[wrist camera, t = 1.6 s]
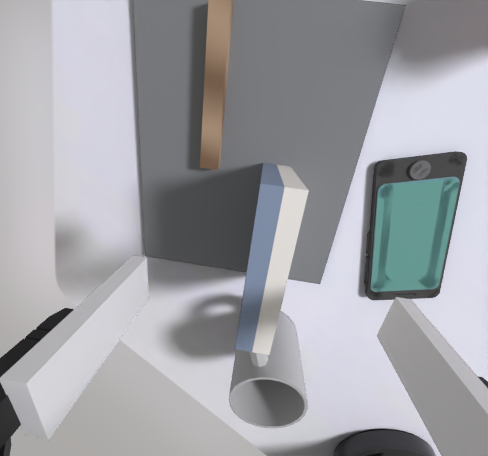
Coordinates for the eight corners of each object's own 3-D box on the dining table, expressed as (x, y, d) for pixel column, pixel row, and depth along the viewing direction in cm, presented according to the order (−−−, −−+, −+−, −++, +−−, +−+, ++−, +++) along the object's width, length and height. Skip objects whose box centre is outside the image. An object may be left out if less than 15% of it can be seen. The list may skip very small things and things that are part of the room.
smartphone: (470, 151, 19) (439, 298, 24) (459, 150, 20) (432, 291, 25) (376, 162, 20) (366, 301, 25) (370, 161, 21) (362, 294, 26)
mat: (318, 281, 26) (320, 284, 25) (147, 253, 27) (144, 255, 26) (401, 9, 17) (405, 5, 16) (136, -21, 17) (131, -26, 17)
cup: (246, 351, 31) (239, 429, 23) (227, 292, 28) (210, 358, 19) (300, 346, 30) (313, 426, 22) (286, 283, 26) (295, 350, 18)
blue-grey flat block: (268, 275, 25) (269, 355, 16) (246, 272, 26) (234, 349, 16) (290, 166, 21) (308, 190, 12) (263, 162, 21) (260, 183, 12)
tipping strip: (219, 167, 22) (216, 169, 20) (204, 165, 22) (199, 167, 20) (233, 3, 17) (230, -8, 16) (213, 1, 17) (208, -11, 16)
